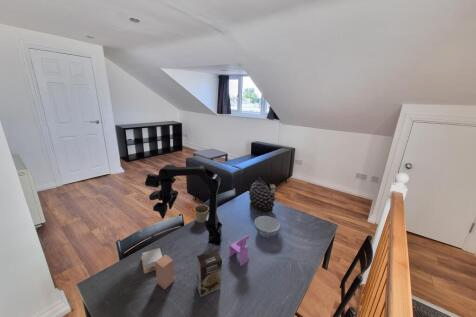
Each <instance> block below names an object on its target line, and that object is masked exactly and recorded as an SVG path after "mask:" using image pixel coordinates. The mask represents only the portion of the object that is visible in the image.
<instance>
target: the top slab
mask: <svg viewBox="0 0 476 317" xmlns="http://www.w3.org/2000/svg"><path fill="white" fill-rule="evenodd" d="M160 250H161V247H157V248H153V249H151V250H149V251H145V252H142V254H141V257H142V256H143V262H144V267H145V269H148V268H151V267H153V266H156V263H155V261H157V260H158V259H160V258H161V257H162V256H163V253H162V251H160ZM161 253H162V254H161Z"/></svg>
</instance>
